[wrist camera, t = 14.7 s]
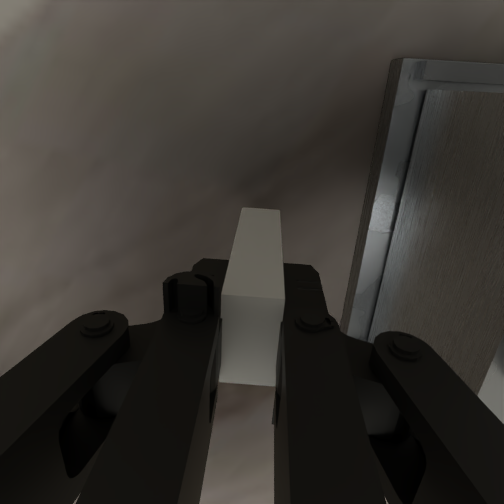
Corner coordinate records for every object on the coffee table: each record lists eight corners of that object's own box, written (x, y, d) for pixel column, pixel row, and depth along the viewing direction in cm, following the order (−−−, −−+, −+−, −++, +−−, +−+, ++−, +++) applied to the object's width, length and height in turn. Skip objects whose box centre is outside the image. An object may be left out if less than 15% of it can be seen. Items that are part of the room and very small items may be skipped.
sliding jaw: (366, 346, 19) (457, 594, 10) (426, 89, 14) (736, 103, 5) (437, 351, 19) (595, 605, 10) (525, 95, 14) (1031, 122, 5)
